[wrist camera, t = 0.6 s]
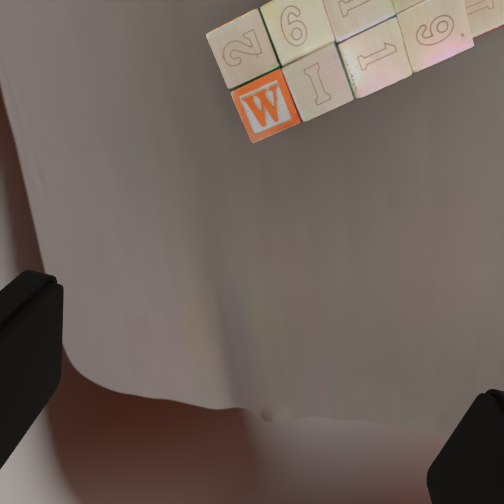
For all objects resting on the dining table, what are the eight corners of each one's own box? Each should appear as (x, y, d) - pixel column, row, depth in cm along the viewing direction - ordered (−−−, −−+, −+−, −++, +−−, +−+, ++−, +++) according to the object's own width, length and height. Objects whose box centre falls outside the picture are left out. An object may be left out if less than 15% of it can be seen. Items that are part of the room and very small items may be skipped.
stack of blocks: (534, -115, 27) (689, -219, 16) (548, -11, 30) (692, -41, 19) (234, 35, 33) (201, 33, 22) (266, 113, 35) (250, 145, 24)
